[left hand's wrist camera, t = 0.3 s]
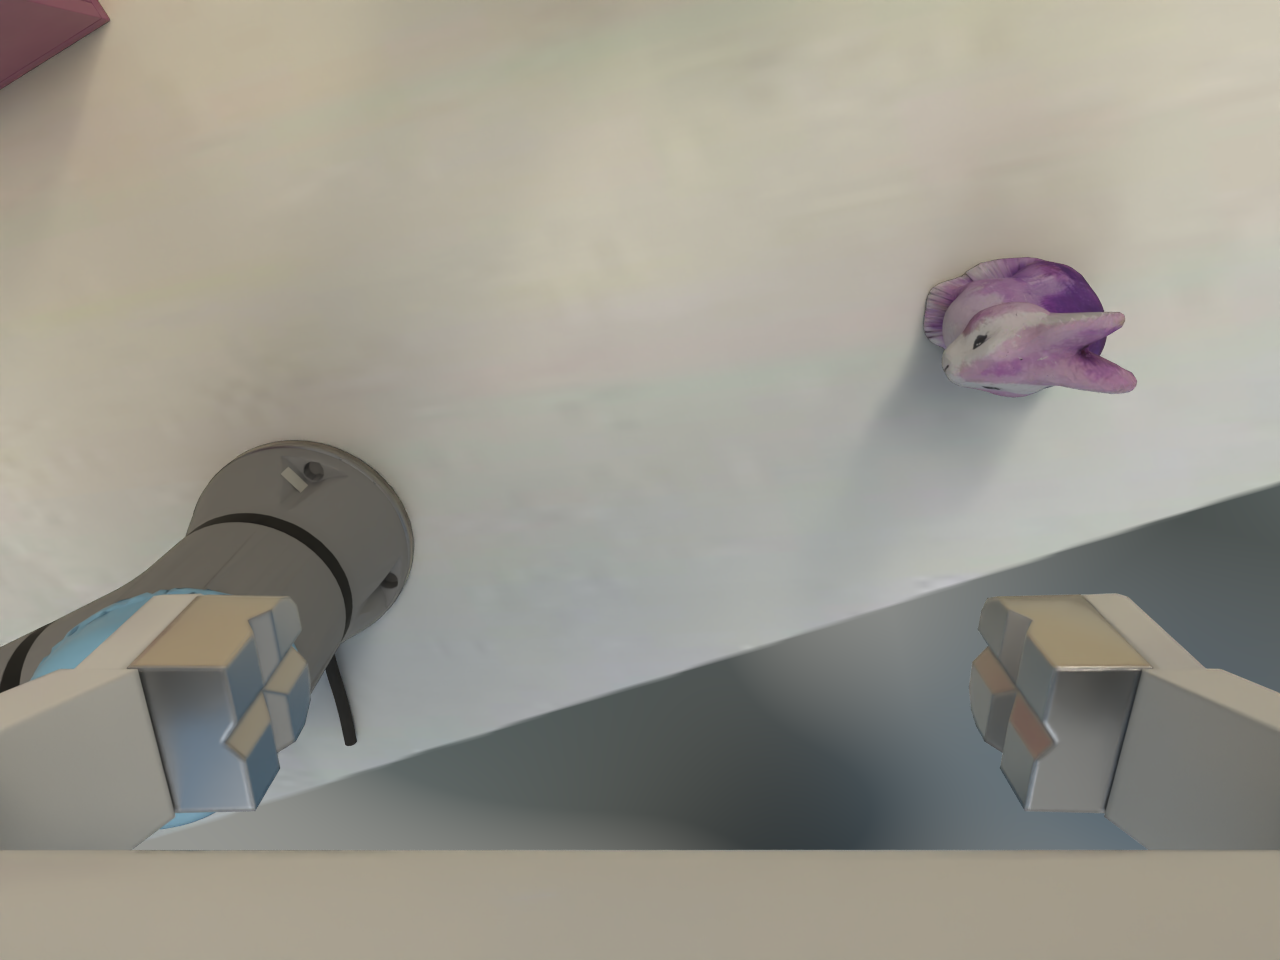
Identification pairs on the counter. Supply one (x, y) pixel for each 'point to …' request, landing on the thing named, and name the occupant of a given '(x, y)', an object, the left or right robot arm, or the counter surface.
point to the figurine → (1024, 330)
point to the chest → (42, 31)
